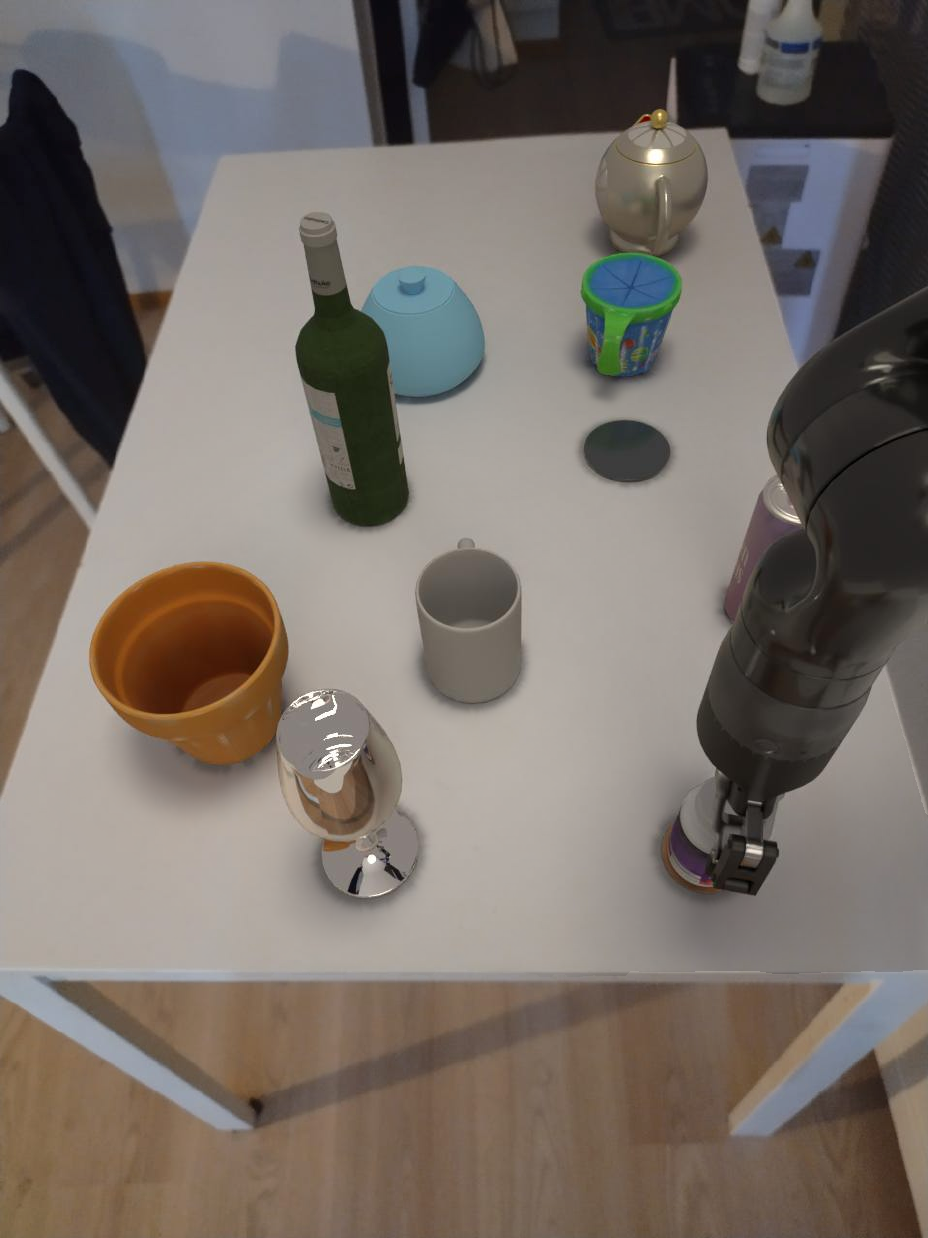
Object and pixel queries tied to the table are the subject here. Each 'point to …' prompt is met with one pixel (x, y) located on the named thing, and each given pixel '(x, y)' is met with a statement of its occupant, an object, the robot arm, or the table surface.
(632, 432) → the slate coaster
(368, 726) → the wineglass
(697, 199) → the teapot
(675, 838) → the pill bottle
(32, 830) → the table surface
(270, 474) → the table surface
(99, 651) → the flower pot
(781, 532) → the beverage can
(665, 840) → the cork coaster
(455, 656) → the mug
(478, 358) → the sugar bowl
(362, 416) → the wine bottle
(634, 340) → the sippy cup
